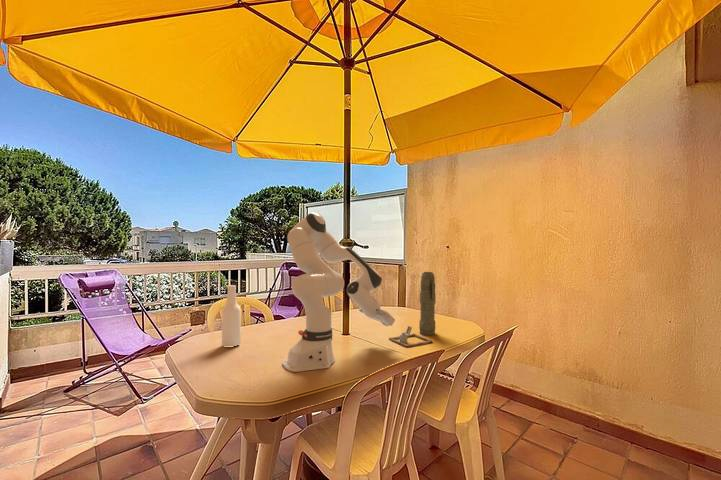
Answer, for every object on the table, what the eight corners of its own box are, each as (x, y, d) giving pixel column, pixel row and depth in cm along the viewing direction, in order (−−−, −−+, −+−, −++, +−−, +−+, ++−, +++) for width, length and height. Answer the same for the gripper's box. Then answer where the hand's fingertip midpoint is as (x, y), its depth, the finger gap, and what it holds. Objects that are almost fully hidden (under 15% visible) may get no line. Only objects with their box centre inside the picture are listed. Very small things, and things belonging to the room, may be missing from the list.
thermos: (428, 337, 189) (429, 273, 189) (414, 331, 199) (415, 271, 199) (440, 334, 194) (441, 272, 194) (426, 329, 204) (426, 271, 204)
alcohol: (220, 349, 166) (220, 287, 166) (223, 343, 175) (224, 284, 175) (239, 347, 168) (239, 286, 168) (241, 342, 177) (242, 284, 176)
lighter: (401, 343, 177) (401, 328, 177) (399, 342, 179) (399, 327, 179) (412, 341, 181) (412, 326, 181) (409, 340, 183) (410, 325, 182)
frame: (406, 347, 171) (406, 345, 171) (389, 339, 184) (389, 338, 184) (432, 342, 179) (432, 340, 179) (413, 335, 192) (413, 333, 192)
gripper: (387, 306, 163) (403, 324, 168) (363, 299, 180) (378, 315, 185) (380, 317, 160) (396, 334, 166) (356, 308, 177) (372, 325, 183)
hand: (386, 324), depth 176 cm, fingers closed
